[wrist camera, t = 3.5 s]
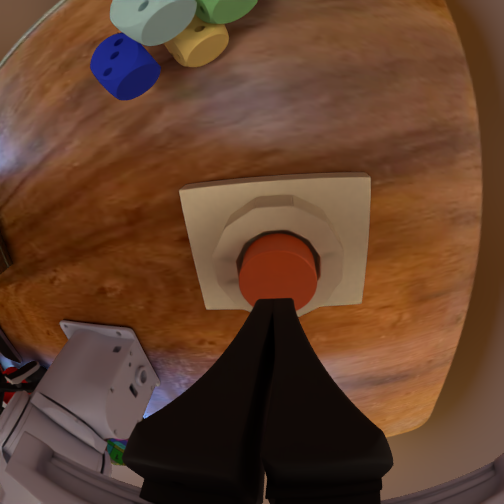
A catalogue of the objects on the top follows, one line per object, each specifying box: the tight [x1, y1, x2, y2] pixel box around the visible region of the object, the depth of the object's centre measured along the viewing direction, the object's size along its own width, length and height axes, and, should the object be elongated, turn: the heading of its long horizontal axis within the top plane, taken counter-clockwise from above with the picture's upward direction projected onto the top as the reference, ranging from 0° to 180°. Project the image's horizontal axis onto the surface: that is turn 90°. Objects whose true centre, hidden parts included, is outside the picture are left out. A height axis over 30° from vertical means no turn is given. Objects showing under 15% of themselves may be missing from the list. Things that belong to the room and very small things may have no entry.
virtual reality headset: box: [0, 361, 48, 415], centre depth 23 cm, size 19×22×15 cm
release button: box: [239, 234, 317, 311], centre depth 13 cm, size 4×4×2 cm
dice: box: [90, 0, 258, 100], centre depth 9 cm, size 8×3×6 cm, turn 130°
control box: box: [179, 172, 371, 317], centre depth 15 cm, size 10×8×3 cm
